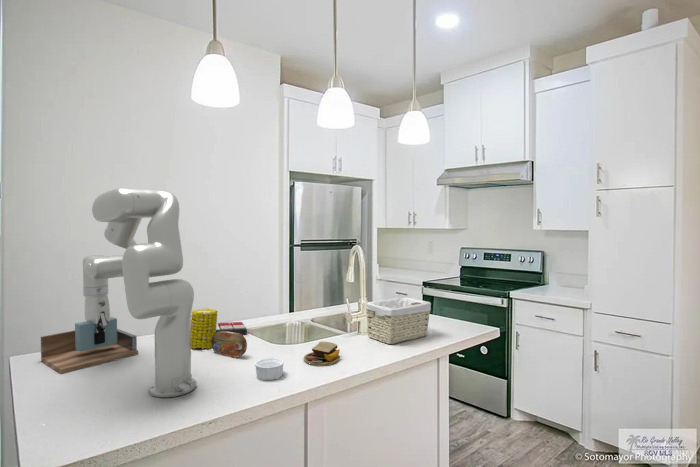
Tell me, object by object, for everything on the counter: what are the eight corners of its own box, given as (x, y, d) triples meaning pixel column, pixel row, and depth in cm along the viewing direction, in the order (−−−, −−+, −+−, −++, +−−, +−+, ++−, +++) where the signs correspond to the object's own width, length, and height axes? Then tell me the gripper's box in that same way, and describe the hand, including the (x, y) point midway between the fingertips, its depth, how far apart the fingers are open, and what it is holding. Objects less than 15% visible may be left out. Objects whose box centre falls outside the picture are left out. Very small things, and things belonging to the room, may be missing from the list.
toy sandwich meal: (295, 362, 144) (296, 348, 144) (320, 351, 155) (320, 339, 155) (324, 369, 137) (324, 355, 137) (348, 358, 148) (348, 345, 148)
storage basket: (404, 328, 188) (405, 295, 187) (432, 336, 175) (433, 301, 174) (363, 337, 173) (364, 302, 173) (390, 347, 161) (391, 309, 160)
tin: (210, 353, 152) (210, 330, 152) (217, 350, 155) (217, 328, 155) (242, 360, 145) (242, 336, 145) (248, 357, 148) (248, 333, 148)
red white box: (247, 327, 176) (209, 329, 169) (246, 337, 176) (209, 339, 170) (242, 321, 186) (207, 322, 179) (242, 330, 186) (206, 332, 180)
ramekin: (253, 372, 134) (253, 359, 134) (280, 369, 137) (280, 356, 137) (257, 383, 126) (257, 369, 125) (286, 379, 129) (286, 365, 129)
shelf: (138, 354, 150) (137, 330, 150) (60, 374, 131) (60, 347, 131) (115, 344, 161) (115, 322, 161) (41, 361, 142) (40, 336, 142)
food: (184, 351, 159) (209, 346, 166) (200, 350, 151) (225, 345, 159) (181, 310, 161) (205, 308, 168) (197, 308, 153) (221, 305, 161)
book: (117, 343, 151) (116, 318, 151) (80, 351, 142) (79, 325, 141) (112, 341, 154) (111, 316, 153) (75, 349, 144) (74, 323, 144)
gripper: (117, 292, 145) (118, 344, 146) (97, 286, 155) (98, 335, 156) (94, 295, 139) (95, 349, 140) (74, 289, 149) (75, 340, 150)
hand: (96, 341), depth 148 cm, fingers closed on book, 4 cm apart
